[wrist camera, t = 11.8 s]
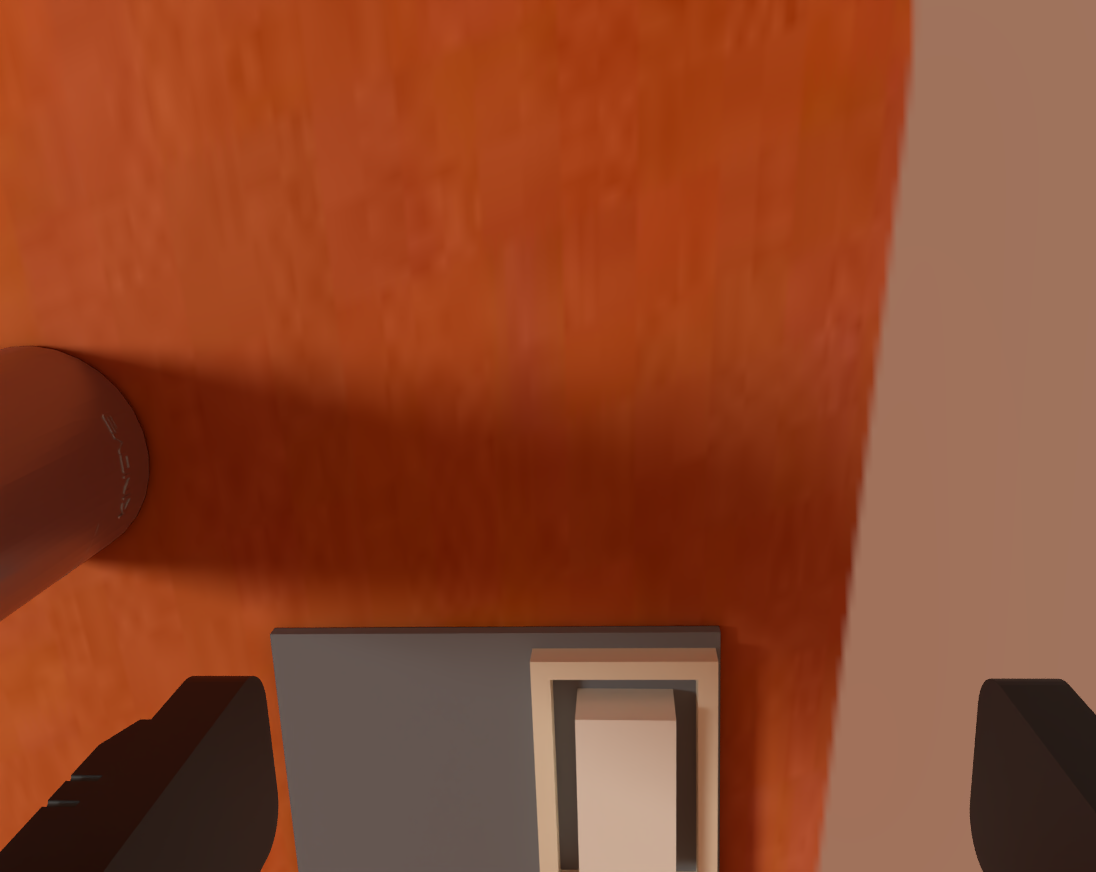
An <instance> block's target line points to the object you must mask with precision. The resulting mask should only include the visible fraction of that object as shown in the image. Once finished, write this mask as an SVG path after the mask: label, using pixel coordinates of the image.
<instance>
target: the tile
mask: <svg viewBox="0 0 1096 872" xmlns="http://www.w3.org/2000/svg"><path fill="white" fill-rule="evenodd" d="M575 740H576V776H577V812H578V848H579V872H676V714H675V704H674V695H673V689H611V688H578V689H577V701H576V713H575Z"/></svg>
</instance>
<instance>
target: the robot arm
mask: <svg viewBox="0 0 1096 872" xmlns="http://www.w3.org/2000/svg"><path fill="white" fill-rule="evenodd" d="M148 479H149V458H148V450H147V446H146V442H145V438H144V434H143V430H142V428H141V426H140V424H139V422H138V420H137V418H136V416H135V413H134V411H133V409H132V408H131V406H130V405H129V404H128V402H127V401H126V400H125V398H124V397H123V395H122V394H121V393H120V391H119V390H118V389H117V388H116V387H115V386H114V385H113V384H112V383H111V382H110V381H109V380H108V379H107V378H105V377H104V376H103V375H102V374H101V373H100V372H99V371H97V370H96V369H94V368H92V367H91V366H89V365H88V364H86V363H85V362H83V361H81V360H80V359H78V358H75V357H73V356H70V355H68V354H65V353H63V352H60V351H57V350H53V349H48V348H42V347H36V346H20V347H8V348H4V349H0V621H2V620H3V619H4V618H6V617H7V616H9V615H10V614H12V613H13V612H14V611H16V610H17V609H19V608H20V607H21V606H23V605H24V604H26V603H27V602H28V601H30V600H31V599H33V598H34V597H35V596H37V595H38V594H40V593H41V592H42V591H44V590H45V589H47V588H48V587H50V586H51V585H52V584H54V583H55V582H57V581H58V580H60V579H61V578H63V577H64V576H65V575H67V574H68V573H70V572H71V571H72V570H74V569H75V568H77V567H78V566H79V565H81V564H82V563H84V562H85V561H86V560H88V559H89V558H91V557H92V556H93V555H95V554H96V553H98V552H99V551H100V550H102V549H103V548H105V547H106V546H107V545H109V544H110V543H111V542H113V541H114V540H115V539H116V538H118V537H119V536H120V535H121V534H123V533H124V532H125V531H126V529H127V528H128V527H129V525H130V524H131V523H132V522H133V520H134V519H135V518H136V516H137V515H138V512H139V510H140V508H141V505H142V503H143V501H144V498H145V496H146V490H147V485H148ZM277 818H278V792H277V783H276V775H275V767H274V758H273V750H272V742H271V734H270V725H269V717H268V709H267V700H266V694H265V690H264V687H263V684H262V682H261V681H260V679H259V678H258V677H255V676H191V677H189V678H187V679H186V680H185V681H184V682H183V684H182V685H181V686H180V687H179V688H178V689H177V690H176V692H175V693H174V694H173V695H172V696H171V697H170V698H169V700H168V701H167V702H166V703H165V704H164V705H163V707H162V708H161V709H160V710H159V711H158V712H157V713H156V715H155V716H154V717H153V718H152V719H151V720H139V721H137V722H135V723H134V724H132V725H131V726H129V727H127V728H126V729H124V730H123V731H121V732H119V733H118V734H116V735H114V736H113V737H111V738H110V739H108V740H106V741H105V742H103V743H101V744H100V745H99V746H98V747H97V748H96V749H95V750H94V751H93V752H92V753H91V754H90V755H89V756H88V757H87V759H86V760H85V761H84V762H83V763H82V764H81V765H80V766H79V767H78V768H77V769H76V770H75V772H74V773H73V774H72V775H71V781H65V782H64V783H63V785H62V786H61V787H60V788H59V789H58V790H57V791H56V792H55V793H54V794H53V795H52V796H51V798H50V799H49V800H48V805H47V807H41V808H40V809H39V811H38V812H37V813H36V814H35V815H34V816H33V817H32V818H31V819H30V820H29V821H28V823H27V824H26V825H25V826H24V827H23V828H22V829H21V830H20V831H19V832H18V833H17V834H16V836H15V837H14V838H13V839H12V840H11V841H10V842H9V843H8V844H7V845H6V846H5V847H4V849H3V850H2V851H1V852H0V872H260V871H261V869H262V867H263V865H264V863H265V861H266V859H267V857H268V855H269V853H270V850H271V847H272V844H273V841H274V837H275V832H276V826H277ZM970 823H971V831H972V838H973V843H974V847H975V851H976V855H977V858H978V861H979V863H980V866H981V868H982V870H983V872H1096V715H1095V714H1094V712H1093V711H1092V710H1091V709H1090V708H1089V707H1088V706H1087V705H1086V704H1085V702H1084V701H1083V700H1082V699H1081V698H1080V697H1079V696H1078V695H1077V693H1076V692H1075V691H1074V690H1073V689H1072V688H1071V687H1070V685H1069V684H1067V683H1066V682H1065V681H1063V680H1062V679H988V680H986V681H985V682H984V684H983V685H982V688H981V690H980V695H979V701H978V712H977V724H976V736H975V748H974V760H973V774H972V785H971V798H970Z"/></svg>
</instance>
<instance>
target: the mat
mask: <svg viewBox="0 0 1096 872" xmlns="http://www.w3.org/2000/svg"><path fill="white" fill-rule="evenodd" d="M270 638H271V646H272V655H273V663H274V671H275V680H276V688H277V696H278V705H279V713H280V721H281V729H282V738H283V746H284V754H285V763H286V771H287V779H288V788H289V796H290V804H291V813H292V821H293V829H294V838H295V846H296V854H297V863H298V871H299V872H579V848H578V812H577V776H576V740H575V713H576V701H577V689H578V688H611V689H673V695H674V704H675V714H676V872H719V829H720V640H721V632H720V628H719V626H600V627H398V628H275V629H274V630H273V631H272V632H271V634H270Z"/></svg>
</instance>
